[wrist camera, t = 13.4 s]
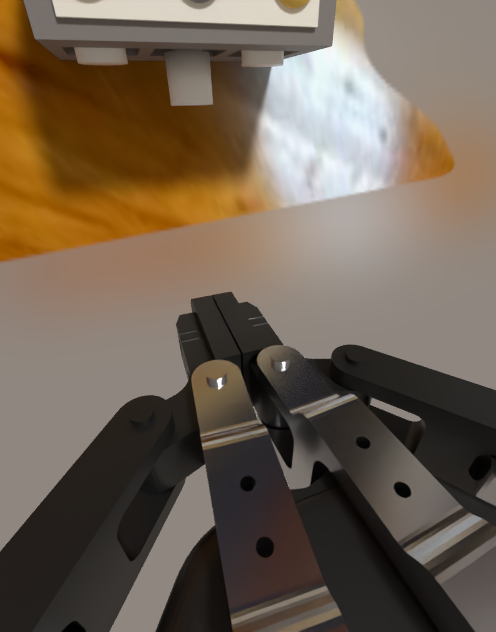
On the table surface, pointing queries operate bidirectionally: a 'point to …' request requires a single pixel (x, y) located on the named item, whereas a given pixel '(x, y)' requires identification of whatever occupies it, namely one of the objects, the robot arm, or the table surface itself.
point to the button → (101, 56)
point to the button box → (182, 26)
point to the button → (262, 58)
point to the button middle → (189, 77)
